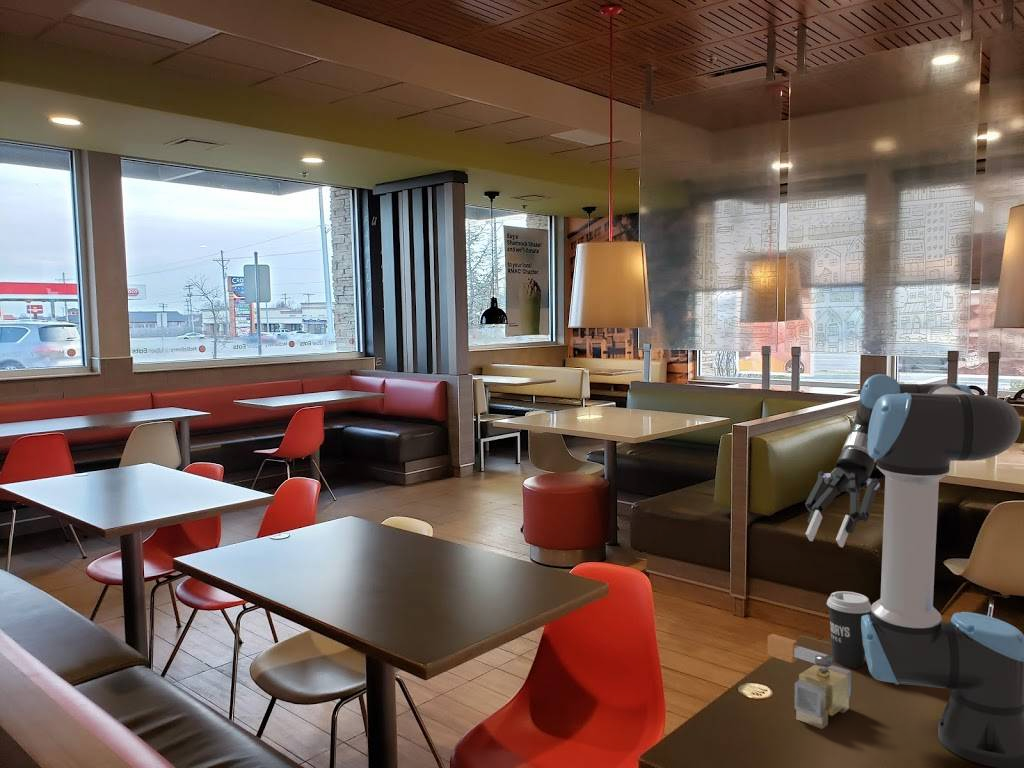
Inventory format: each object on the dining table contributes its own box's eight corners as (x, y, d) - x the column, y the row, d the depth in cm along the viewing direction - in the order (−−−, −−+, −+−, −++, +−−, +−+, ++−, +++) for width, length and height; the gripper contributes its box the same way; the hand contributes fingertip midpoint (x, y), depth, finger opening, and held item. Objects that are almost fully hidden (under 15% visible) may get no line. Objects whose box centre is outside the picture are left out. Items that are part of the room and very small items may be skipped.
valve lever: (835, 670, 153) (835, 651, 153) (827, 675, 151) (827, 655, 151) (773, 651, 163) (774, 632, 162) (765, 655, 161) (766, 636, 160)
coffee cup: (833, 649, 185) (834, 587, 184) (876, 659, 179) (877, 595, 178) (820, 662, 178) (821, 598, 177) (864, 673, 172) (865, 607, 171)
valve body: (821, 697, 161) (822, 657, 160) (854, 709, 156) (855, 667, 155) (790, 719, 152) (790, 676, 151) (824, 732, 147) (824, 687, 146)
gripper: (906, 472, 173) (873, 559, 163) (823, 462, 187) (788, 541, 177) (896, 451, 169) (863, 539, 159) (813, 442, 183) (777, 523, 173)
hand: (824, 540), depth 168 cm, fingers open, 6 cm apart
